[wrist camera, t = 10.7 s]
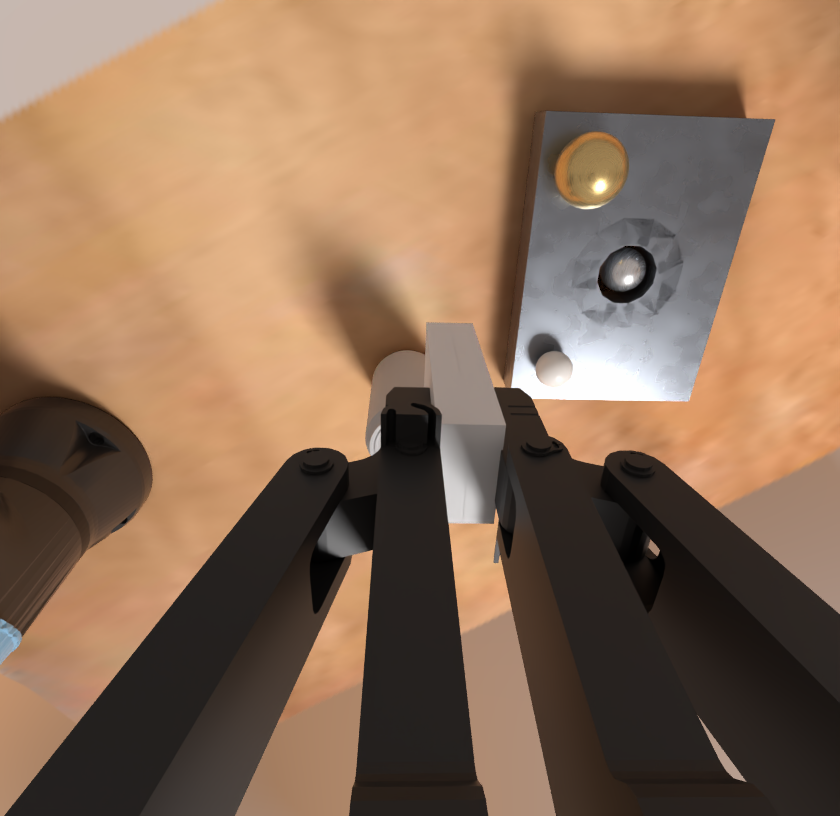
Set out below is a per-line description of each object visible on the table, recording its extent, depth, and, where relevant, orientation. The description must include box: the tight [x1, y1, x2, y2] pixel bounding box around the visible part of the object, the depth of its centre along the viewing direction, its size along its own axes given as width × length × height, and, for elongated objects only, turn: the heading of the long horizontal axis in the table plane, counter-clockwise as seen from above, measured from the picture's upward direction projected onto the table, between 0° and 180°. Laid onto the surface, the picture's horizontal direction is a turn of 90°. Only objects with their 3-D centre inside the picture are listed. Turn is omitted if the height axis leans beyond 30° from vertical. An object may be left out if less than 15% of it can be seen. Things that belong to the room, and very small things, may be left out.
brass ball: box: [554, 131, 629, 209], centre depth 36 cm, size 5×5×5 cm
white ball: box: [535, 351, 573, 387], centre depth 44 cm, size 3×3×3 cm
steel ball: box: [600, 247, 646, 292], centre depth 43 cm, size 4×4×4 cm
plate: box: [504, 111, 775, 401], centre depth 43 cm, size 16×22×4 cm
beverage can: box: [365, 350, 425, 456], centre depth 44 cm, size 6×6×12 cm
